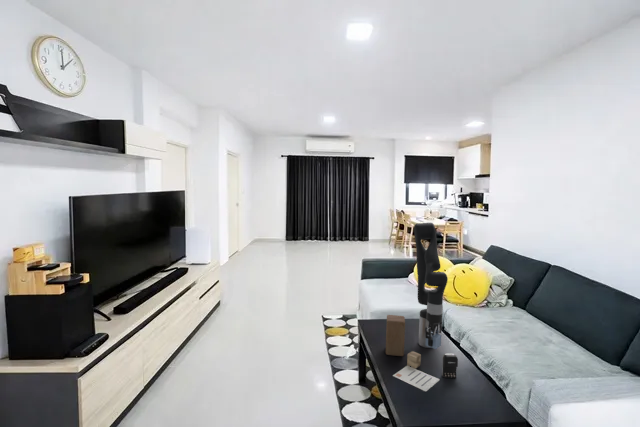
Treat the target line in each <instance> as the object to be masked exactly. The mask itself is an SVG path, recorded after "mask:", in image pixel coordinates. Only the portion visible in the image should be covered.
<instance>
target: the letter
mask: <svg viewBox="0 0 640 427" xmlns="http://www.w3.org/2000/svg"><path fill="white" fill-rule="evenodd" d="M392 377H393V378H396V379H398V380H401V381H402V382H404V383H407V384H409V385H411V386H413V387H415V388H417V389H419V390H421V391H422V392H428V391H429V390H430V389H431V388H432V387H433V386H435V385H436V384H437V383H438V382H439V381H440V378H438V377H435V376H432V375H430V374H429V373H428V374H427V373H425V372H423V371H421V370H419V369H418V368H416V369H415V368H413V367H410V366H408V365H407V364H406V365H405V366H404V367H403V368H401V369H400V370H399V371H397V372H396V373H394V374H393V375H392Z"/></svg>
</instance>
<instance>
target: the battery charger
mask: <svg viewBox="0 0 640 427" xmlns="http://www.w3.org/2000/svg"><path fill="white" fill-rule="evenodd" d="M441 362H442V363H441V364H442V365H441V367H442V369H441V375H442V377H443V378H445V379H456V378H457V368H458V366H459V359H458V356H457V355H456V354H455V353H444V354H443V355H442V360H441Z"/></svg>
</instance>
